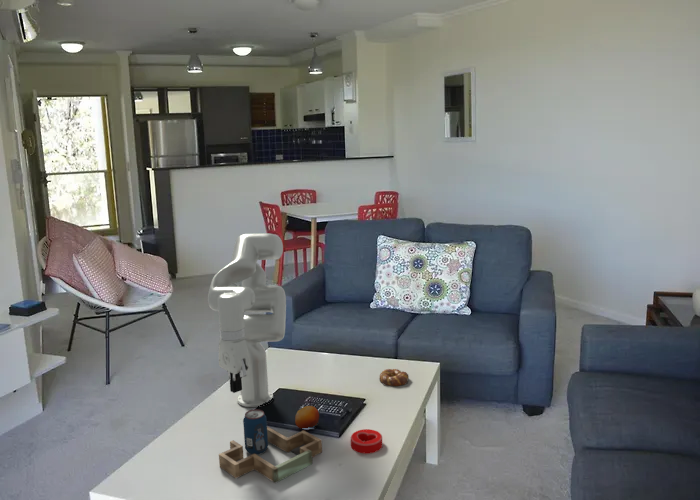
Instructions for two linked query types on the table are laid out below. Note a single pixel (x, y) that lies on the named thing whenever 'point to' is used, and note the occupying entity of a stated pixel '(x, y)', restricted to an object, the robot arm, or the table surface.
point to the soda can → (255, 432)
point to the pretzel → (393, 377)
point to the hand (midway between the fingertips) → (236, 390)
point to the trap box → (298, 444)
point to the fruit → (307, 417)
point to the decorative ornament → (366, 441)
